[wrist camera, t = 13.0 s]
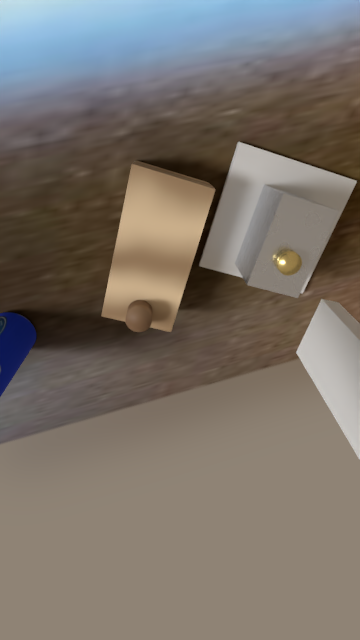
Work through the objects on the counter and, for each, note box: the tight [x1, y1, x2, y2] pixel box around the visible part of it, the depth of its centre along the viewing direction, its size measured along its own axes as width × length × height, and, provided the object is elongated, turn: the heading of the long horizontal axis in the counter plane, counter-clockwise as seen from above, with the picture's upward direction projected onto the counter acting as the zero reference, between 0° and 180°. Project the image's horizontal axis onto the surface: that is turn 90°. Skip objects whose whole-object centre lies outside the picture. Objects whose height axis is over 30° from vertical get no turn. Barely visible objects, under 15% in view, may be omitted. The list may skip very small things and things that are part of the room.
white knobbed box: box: [235, 185, 339, 298], centre depth 31 cm, size 8×5×7 cm, turn 164°
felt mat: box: [199, 142, 357, 293], centre depth 34 cm, size 12×12×1 cm
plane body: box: [101, 160, 216, 332], centre depth 32 cm, size 14×7×7 cm, turn 164°
